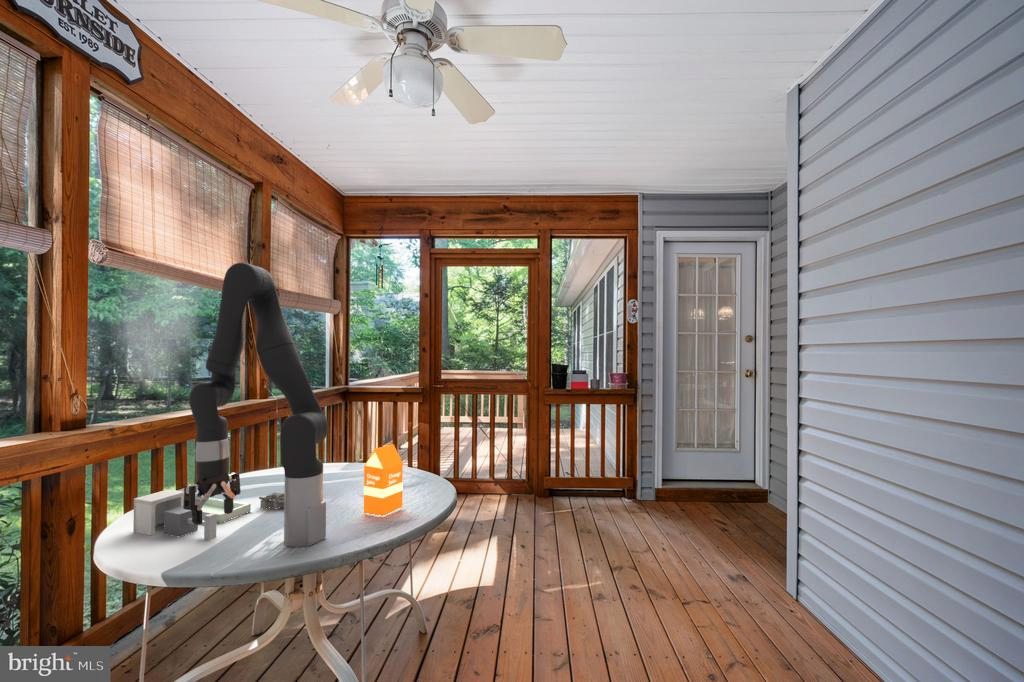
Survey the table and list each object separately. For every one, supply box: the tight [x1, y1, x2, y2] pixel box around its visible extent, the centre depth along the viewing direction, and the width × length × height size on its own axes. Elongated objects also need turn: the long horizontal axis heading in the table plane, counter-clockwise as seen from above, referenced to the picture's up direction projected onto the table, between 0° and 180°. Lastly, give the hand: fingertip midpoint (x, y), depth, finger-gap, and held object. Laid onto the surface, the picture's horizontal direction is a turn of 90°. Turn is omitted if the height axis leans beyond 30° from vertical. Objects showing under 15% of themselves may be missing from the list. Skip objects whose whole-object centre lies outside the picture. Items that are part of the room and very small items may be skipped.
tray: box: [201, 497, 252, 524], centre depth 142 cm, size 20×10×2 cm, turn 70°
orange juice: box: [363, 443, 404, 516], centre depth 143 cm, size 8×9×20 cm
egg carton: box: [258, 492, 284, 510], centre depth 149 cm, size 11×8×4 cm
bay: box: [132, 488, 184, 536], centre depth 130 cm, size 7×9×9 cm
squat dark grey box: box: [163, 506, 217, 540], centre depth 126 cm, size 15×5×6 cm, turn 70°
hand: (213, 518), depth 124 cm, fingers open, 8 cm apart
